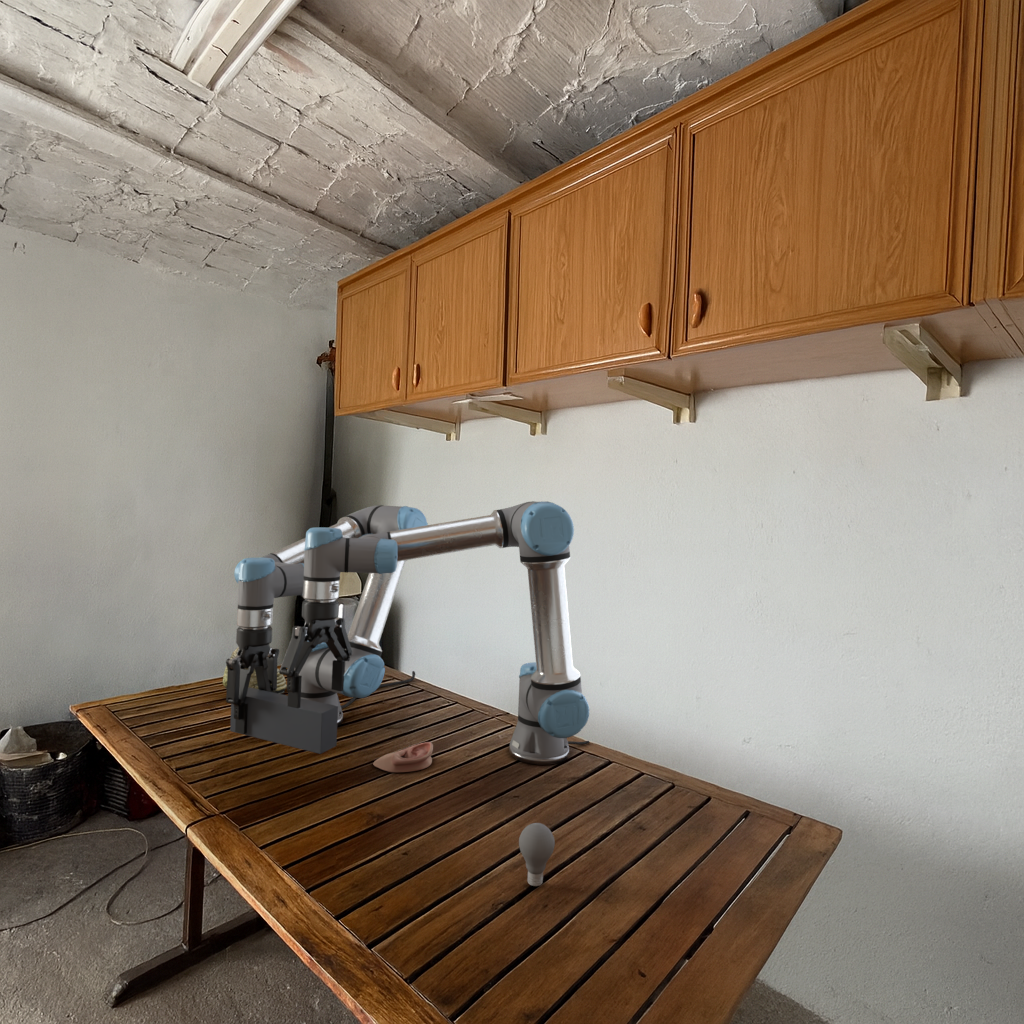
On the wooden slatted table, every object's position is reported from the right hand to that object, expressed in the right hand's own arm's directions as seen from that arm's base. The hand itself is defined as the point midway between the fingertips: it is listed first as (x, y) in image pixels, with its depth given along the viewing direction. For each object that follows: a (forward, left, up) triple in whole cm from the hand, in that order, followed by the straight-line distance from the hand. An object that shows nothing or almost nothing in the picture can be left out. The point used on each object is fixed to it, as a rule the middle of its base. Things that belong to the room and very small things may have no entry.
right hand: (316, 698), depth 136 cm
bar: (+6, -7, -11) cm, 14 cm away
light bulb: (-28, +48, -20) cm, 59 cm away
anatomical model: (-22, -6, -20) cm, 30 cm away
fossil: (+5, -72, -20) cm, 75 cm away
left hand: (+11, -14, -10) cm, 21 cm away
